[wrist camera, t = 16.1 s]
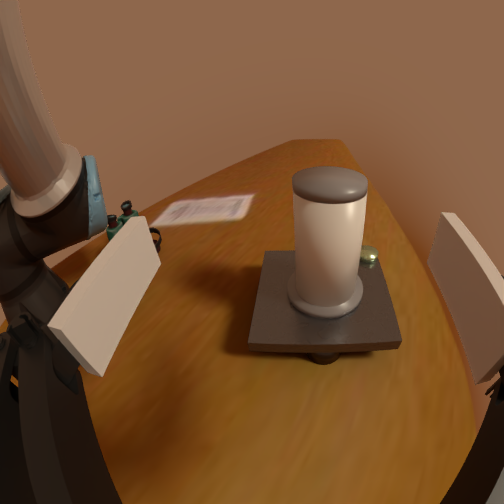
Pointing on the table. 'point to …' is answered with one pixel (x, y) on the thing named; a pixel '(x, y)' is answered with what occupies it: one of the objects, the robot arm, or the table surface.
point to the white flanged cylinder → (327, 240)
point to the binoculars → (128, 213)
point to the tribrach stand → (315, 329)
